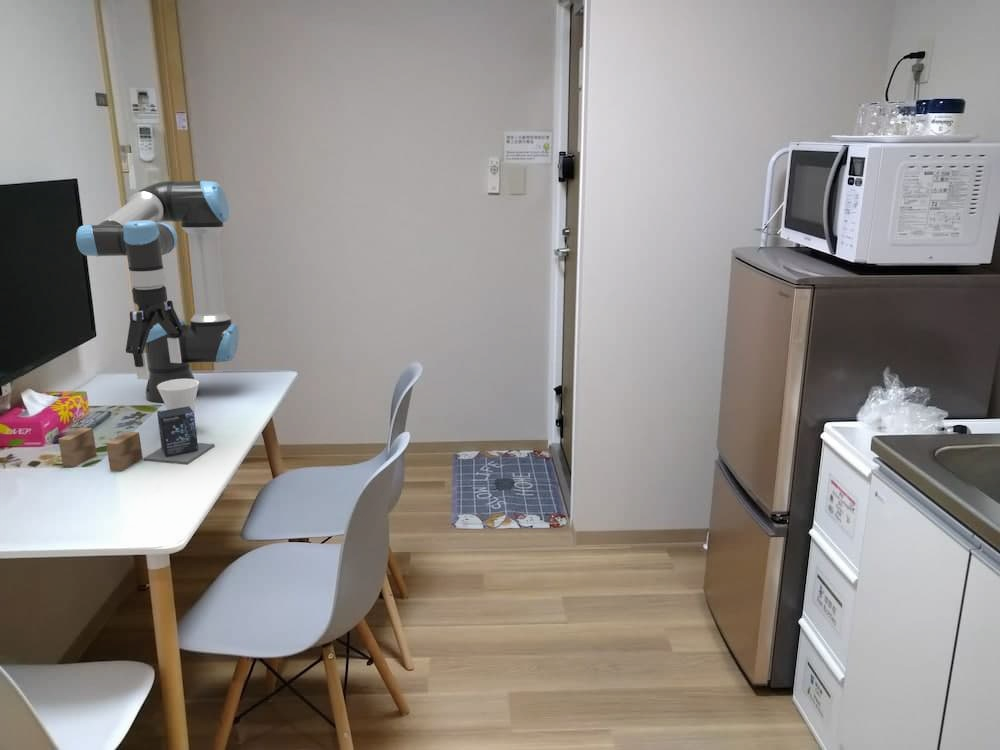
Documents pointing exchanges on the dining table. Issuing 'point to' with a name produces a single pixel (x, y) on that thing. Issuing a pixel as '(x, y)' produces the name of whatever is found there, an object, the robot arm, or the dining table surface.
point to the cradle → (83, 447)
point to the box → (177, 431)
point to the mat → (179, 455)
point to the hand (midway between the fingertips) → (160, 370)
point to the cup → (179, 393)
